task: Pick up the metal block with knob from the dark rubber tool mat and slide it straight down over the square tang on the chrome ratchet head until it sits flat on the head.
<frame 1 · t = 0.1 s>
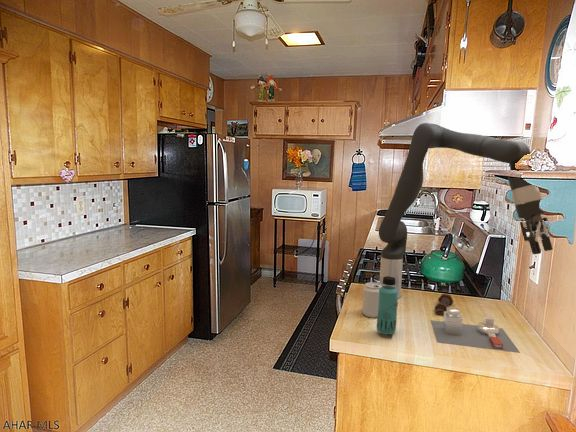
hand: (543, 252, 117), 31 cm above the countertop, tool tilted 20°, fingers open, 8 cm apart
beverage bottle: (385, 334, 128), on the countertop
metal block with knob: (451, 331, 130), point 1 cm above the countertop, touching tool mat
can: (371, 315, 145), on the countertop
ratchet: (487, 332, 130), resting on tool mat
bolt: (442, 312, 150), on the countertop
tool mat: (471, 337, 128), on the countertop
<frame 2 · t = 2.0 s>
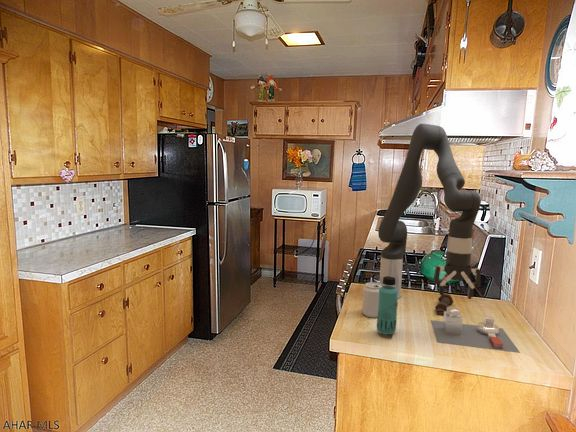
hand: (455, 297, 128), 13 cm above the countertop, tool pointing down, fingers open, 8 cm apart
nothing on the countertop moved.
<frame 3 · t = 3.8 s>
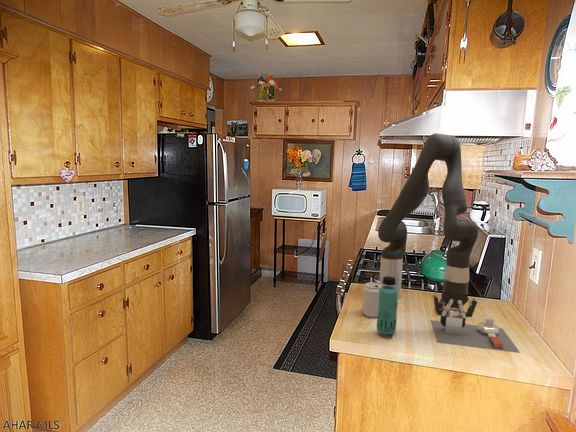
hand: (452, 326, 130), 3 cm above the countertop, tool pointing down, fingers closed on metal block with knob, 5 cm apart
metal block with knob: (451, 331, 130), point 1 cm above the countertop, touching gripper, tool mat
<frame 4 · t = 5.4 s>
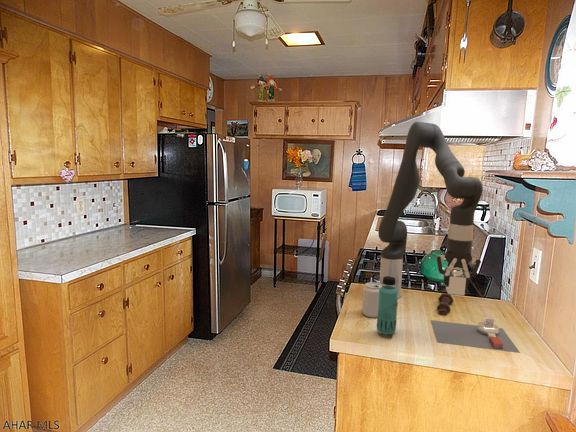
hand: (455, 286, 128), 17 cm above the countertop, tool pointing down, fingers closed on metal block with knob, 5 cm apart
metal block with knob: (454, 292, 128), point 15 cm above the countertop, touching gripper
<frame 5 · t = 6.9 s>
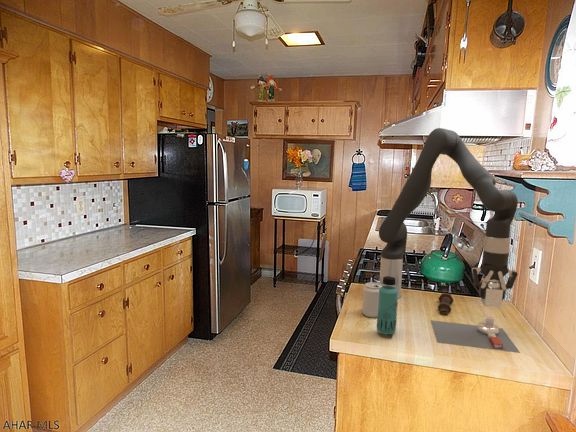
hand: (491, 298, 128), 13 cm above the countertop, tool pointing down, fingers closed on metal block with knob, 5 cm apart
metal block with knob: (490, 304, 128), point 11 cm above the countertop, touching gripper
when the fingers open (6 cm above the countertop, at t = 8.5 s): metal block with knob stays where it is, resting on ratchet.
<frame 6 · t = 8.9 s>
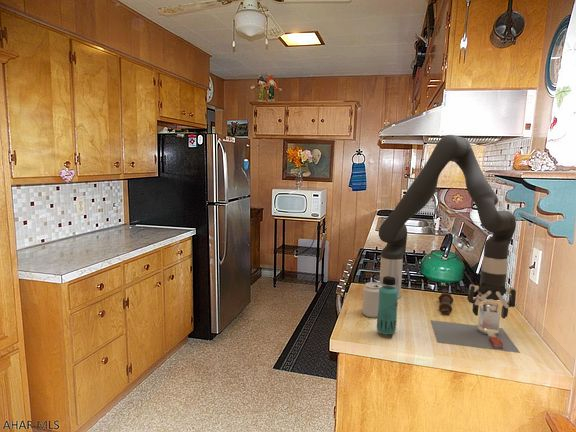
hand: (489, 316, 129), 7 cm above the countertop, tool pointing down, fingers open, 8 cm apart
metal block with knob: (488, 326, 130), point 3 cm above the countertop, touching ratchet
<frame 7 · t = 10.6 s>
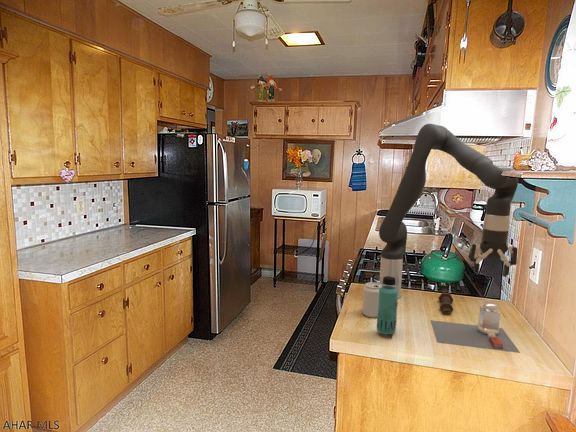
hand: (490, 274, 128), 21 cm above the countertop, tool pointing down, fingers open, 8 cm apart
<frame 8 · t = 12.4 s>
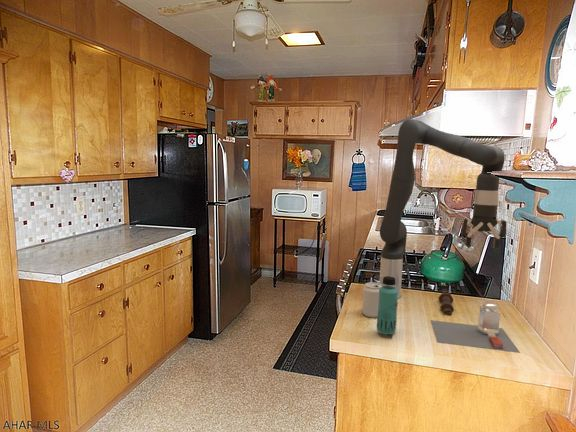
hand: (481, 247, 136), 28 cm above the countertop, tool pointing down, fingers open, 8 cm apart
at the end: metal block with knob 0.0 cm off-centre on the ratchet, point 2.2 cm above the ratchet's base; metal block with knob tilted 0°; the gripper is holding nothing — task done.
